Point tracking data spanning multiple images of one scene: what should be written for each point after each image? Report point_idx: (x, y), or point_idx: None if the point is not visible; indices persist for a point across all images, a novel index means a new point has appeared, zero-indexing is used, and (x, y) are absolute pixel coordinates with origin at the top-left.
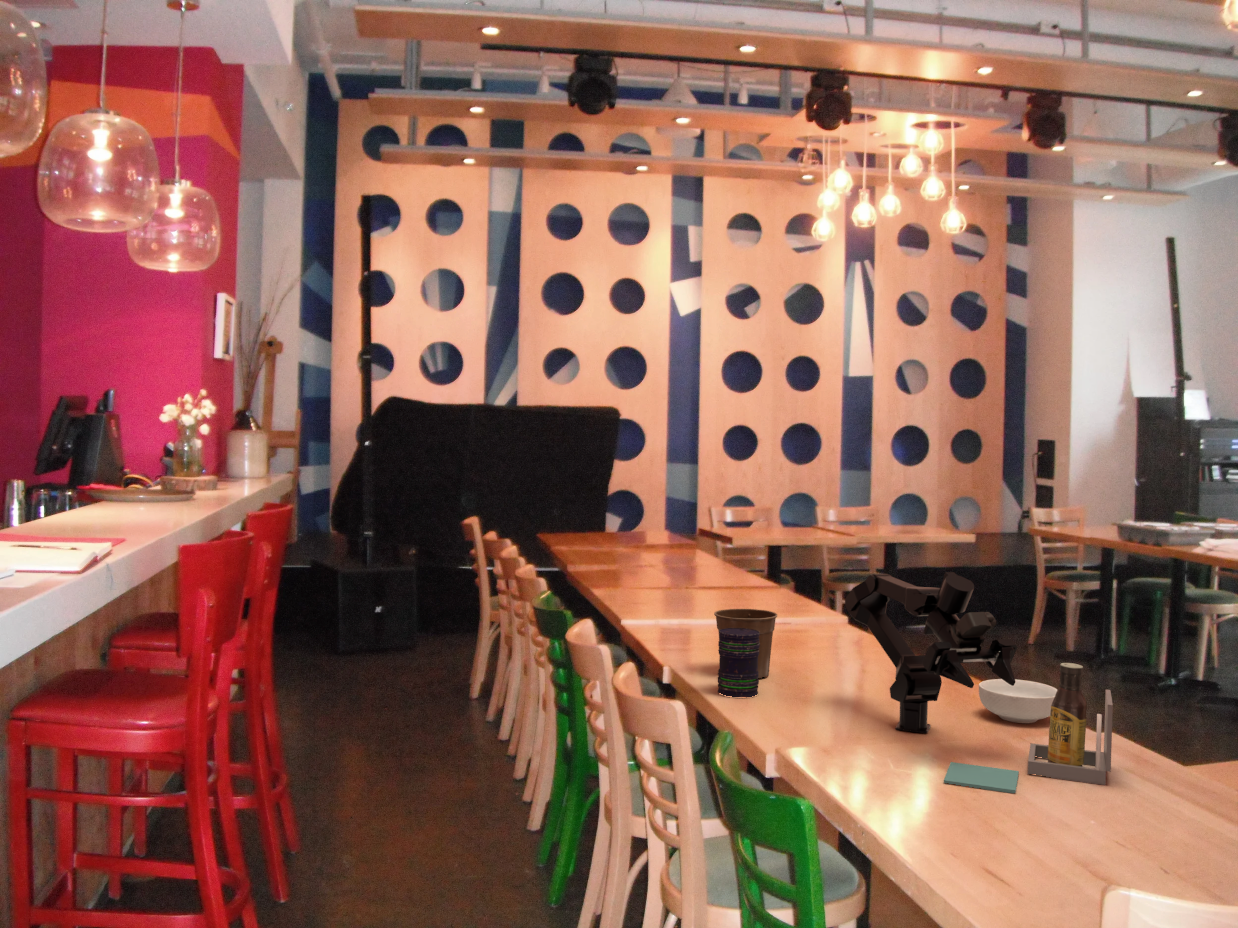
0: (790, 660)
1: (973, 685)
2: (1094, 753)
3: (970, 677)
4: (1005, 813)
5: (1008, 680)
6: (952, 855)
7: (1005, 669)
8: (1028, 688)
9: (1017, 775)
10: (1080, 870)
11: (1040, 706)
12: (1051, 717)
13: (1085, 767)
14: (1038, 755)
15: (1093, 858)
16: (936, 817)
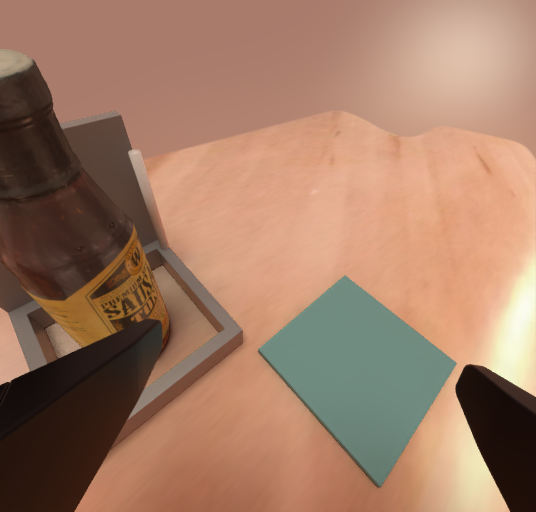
0: None
1: (464, 370)
2: (31, 320)
3: (510, 398)
4: (405, 236)
5: (140, 377)
6: (513, 193)
7: (70, 415)
8: None
9: (284, 328)
10: (405, 150)
11: None
12: (129, 283)
13: (171, 262)
14: None
15: (379, 155)
16: (509, 257)
